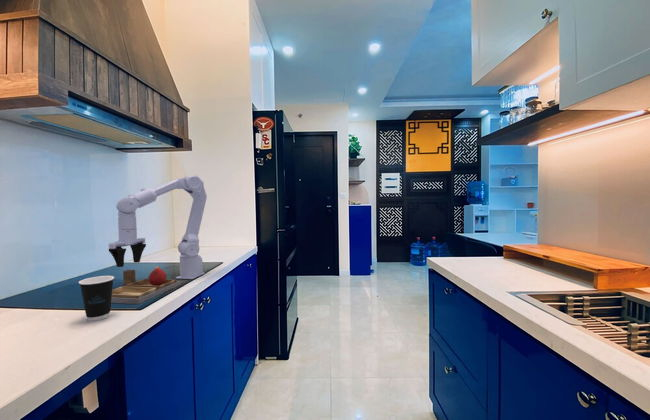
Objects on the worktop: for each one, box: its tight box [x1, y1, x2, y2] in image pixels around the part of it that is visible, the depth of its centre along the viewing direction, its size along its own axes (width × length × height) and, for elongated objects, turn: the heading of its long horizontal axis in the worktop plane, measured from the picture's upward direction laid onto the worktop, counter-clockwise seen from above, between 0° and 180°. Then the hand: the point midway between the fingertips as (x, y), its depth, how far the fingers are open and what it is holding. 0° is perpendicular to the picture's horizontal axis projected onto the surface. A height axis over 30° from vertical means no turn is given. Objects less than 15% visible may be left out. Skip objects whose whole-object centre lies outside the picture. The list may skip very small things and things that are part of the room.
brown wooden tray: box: [111, 280, 182, 305], centre depth 103 cm, size 21×15×2 cm
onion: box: [148, 265, 167, 286], centre depth 107 cm, size 6×6×8 cm
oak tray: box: [112, 285, 157, 298], centre depth 98 cm, size 9×18×6 cm, turn 81°
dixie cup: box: [78, 275, 115, 322], centre depth 81 cm, size 8×8×11 cm
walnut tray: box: [122, 269, 177, 289], centre depth 108 cm, size 9×18×6 cm, turn 81°
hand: (128, 264), depth 109 cm, fingers open, 7 cm apart
